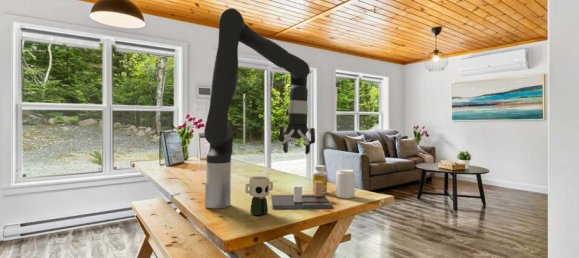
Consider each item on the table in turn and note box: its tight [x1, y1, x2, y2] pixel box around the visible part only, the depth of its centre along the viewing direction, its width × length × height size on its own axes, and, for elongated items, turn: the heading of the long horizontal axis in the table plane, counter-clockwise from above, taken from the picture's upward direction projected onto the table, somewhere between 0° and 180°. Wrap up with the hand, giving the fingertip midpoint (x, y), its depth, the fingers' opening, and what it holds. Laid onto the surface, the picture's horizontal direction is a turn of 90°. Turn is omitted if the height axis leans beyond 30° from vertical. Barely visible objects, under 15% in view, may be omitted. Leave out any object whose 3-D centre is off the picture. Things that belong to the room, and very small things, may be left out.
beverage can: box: [335, 168, 356, 200], centre depth 135 cm, size 8×8×12 cm
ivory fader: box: [293, 185, 303, 202], centre depth 119 cm, size 3×2×6 cm
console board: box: [270, 194, 333, 210], centre depth 124 cm, size 23×16×2 cm
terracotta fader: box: [314, 181, 324, 196], centre depth 129 cm, size 3×2×6 cm
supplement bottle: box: [312, 164, 328, 195], centre depth 142 cm, size 7×7×13 cm
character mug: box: [244, 175, 274, 216], centre depth 109 cm, size 11×7×13 cm, turn 122°
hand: (296, 153), depth 120 cm, fingers open, 8 cm apart
